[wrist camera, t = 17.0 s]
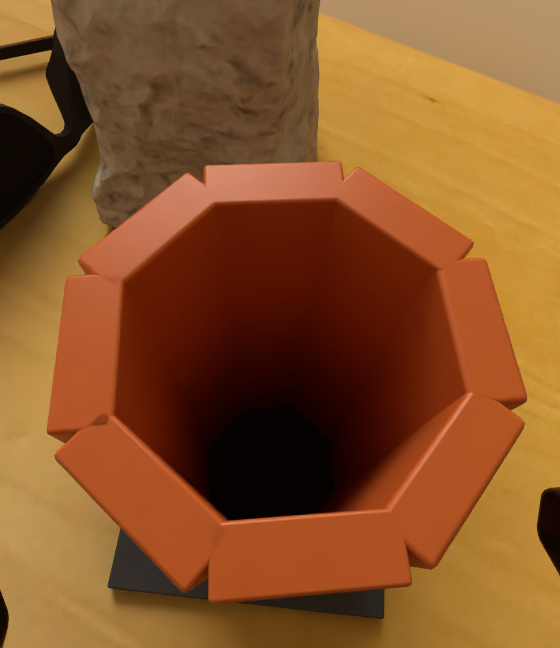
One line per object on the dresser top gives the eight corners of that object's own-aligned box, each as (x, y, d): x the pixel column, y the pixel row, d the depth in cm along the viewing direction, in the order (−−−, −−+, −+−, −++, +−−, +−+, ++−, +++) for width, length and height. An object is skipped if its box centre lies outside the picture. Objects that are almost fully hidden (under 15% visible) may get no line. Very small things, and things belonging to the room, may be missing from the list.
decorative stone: (166, 85, 26) (67, -395, 13) (332, 116, 25) (411, -352, 12) (97, 239, 22) (-164, -246, 8) (295, 279, 21) (352, -169, 8)
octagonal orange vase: (386, 460, 17) (595, 318, 7) (279, 604, 15) (326, 745, 5) (263, 358, 19) (267, 105, 8) (151, 477, 17) (-46, 354, 6)
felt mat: (380, 617, 16) (384, 619, 15) (110, 586, 16) (106, 588, 15) (383, 362, 20) (386, 358, 19) (165, 339, 20) (163, 334, 19)
